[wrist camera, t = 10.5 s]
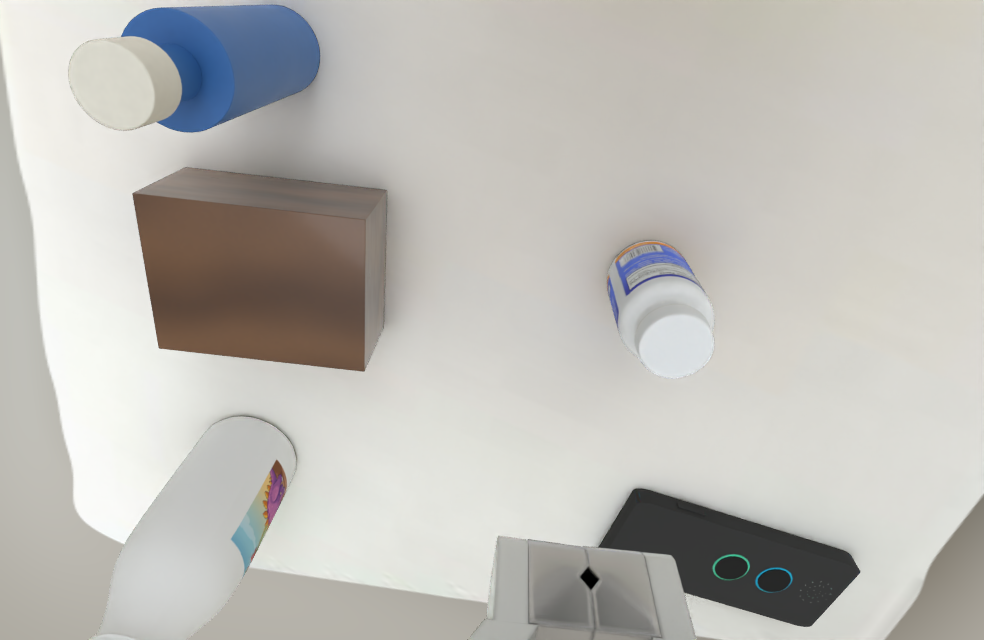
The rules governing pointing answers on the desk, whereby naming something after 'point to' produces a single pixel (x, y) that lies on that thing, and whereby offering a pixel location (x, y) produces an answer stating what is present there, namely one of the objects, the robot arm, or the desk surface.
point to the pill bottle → (661, 309)
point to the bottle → (194, 66)
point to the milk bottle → (199, 533)
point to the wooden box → (265, 266)
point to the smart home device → (735, 558)
